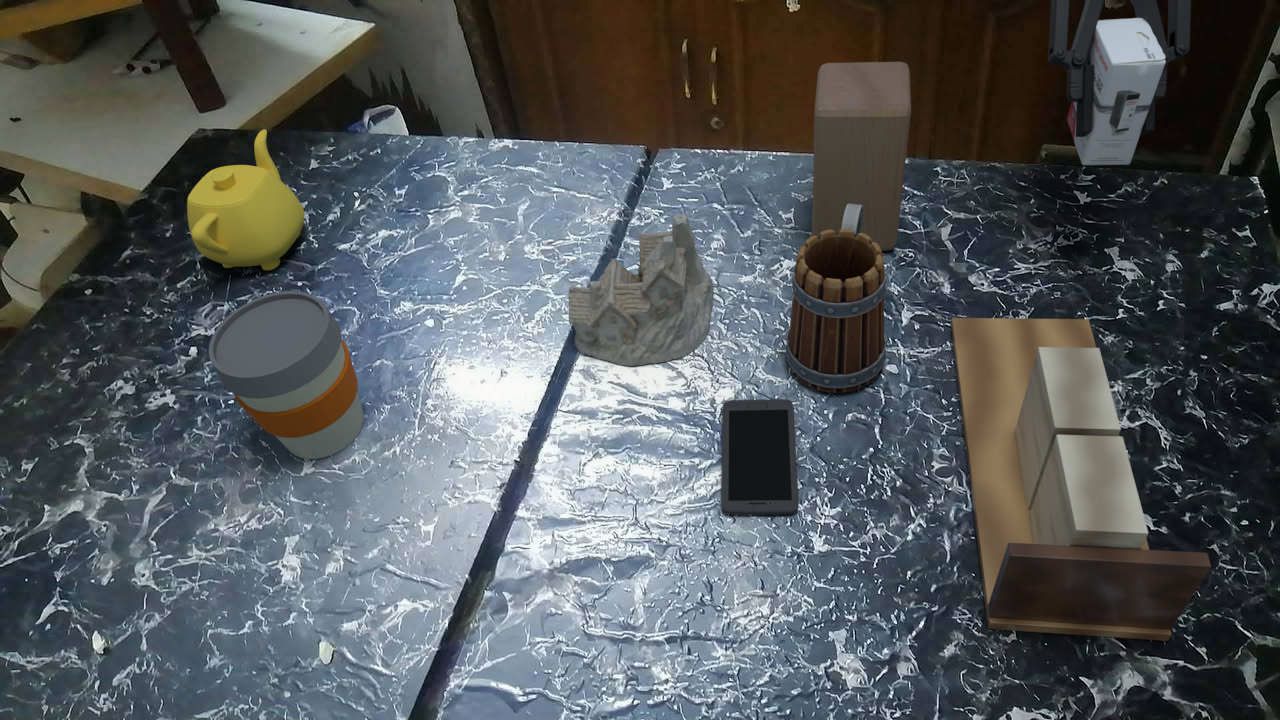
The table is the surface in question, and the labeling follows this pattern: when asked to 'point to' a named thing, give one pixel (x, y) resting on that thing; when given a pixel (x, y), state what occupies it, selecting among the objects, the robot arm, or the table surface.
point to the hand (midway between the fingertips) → (1114, 133)
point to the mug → (838, 309)
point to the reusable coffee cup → (290, 372)
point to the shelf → (994, 443)
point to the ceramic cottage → (646, 303)
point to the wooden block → (861, 146)
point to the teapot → (245, 213)
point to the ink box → (1119, 90)
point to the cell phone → (759, 457)
